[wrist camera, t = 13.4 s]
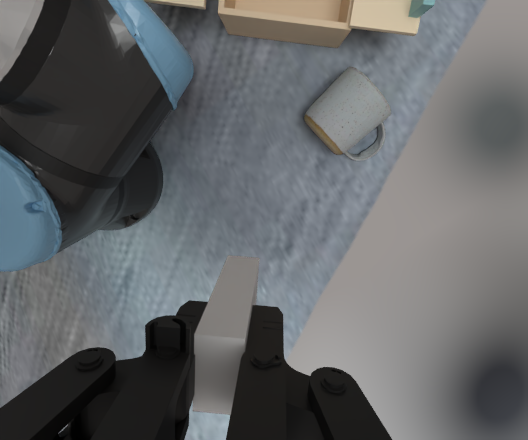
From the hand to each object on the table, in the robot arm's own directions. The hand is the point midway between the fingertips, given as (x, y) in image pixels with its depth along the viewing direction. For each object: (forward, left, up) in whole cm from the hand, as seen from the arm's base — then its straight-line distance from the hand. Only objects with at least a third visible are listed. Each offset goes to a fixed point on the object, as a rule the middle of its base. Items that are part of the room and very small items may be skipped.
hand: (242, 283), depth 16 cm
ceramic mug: (+10, +10, -33) cm, 35 cm away
